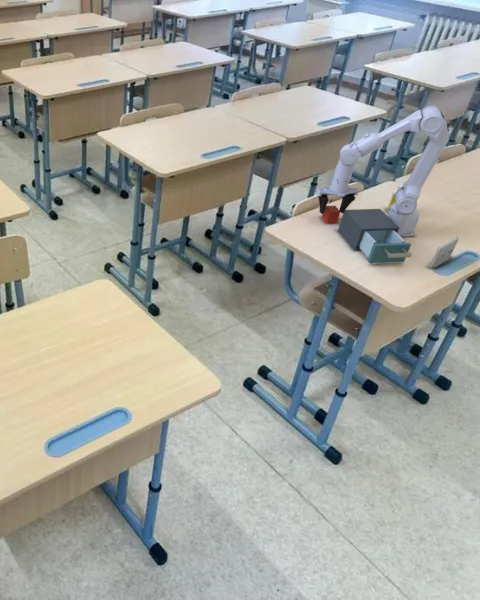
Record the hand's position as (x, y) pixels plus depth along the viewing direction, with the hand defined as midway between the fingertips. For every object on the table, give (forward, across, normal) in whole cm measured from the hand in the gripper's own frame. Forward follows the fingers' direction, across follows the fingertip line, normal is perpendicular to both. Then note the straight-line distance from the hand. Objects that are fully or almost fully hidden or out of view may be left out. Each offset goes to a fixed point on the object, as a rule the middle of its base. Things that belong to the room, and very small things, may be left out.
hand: (331, 212), depth 205 cm
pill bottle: (+3, +28, +4) cm, 29 cm away
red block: (+3, 0, 0) cm, 3 cm away
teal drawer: (+2, +7, -27) cm, 28 cm away
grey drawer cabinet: (+3, +7, -14) cm, 16 cm away
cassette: (+3, +25, -30) cm, 40 cm away
